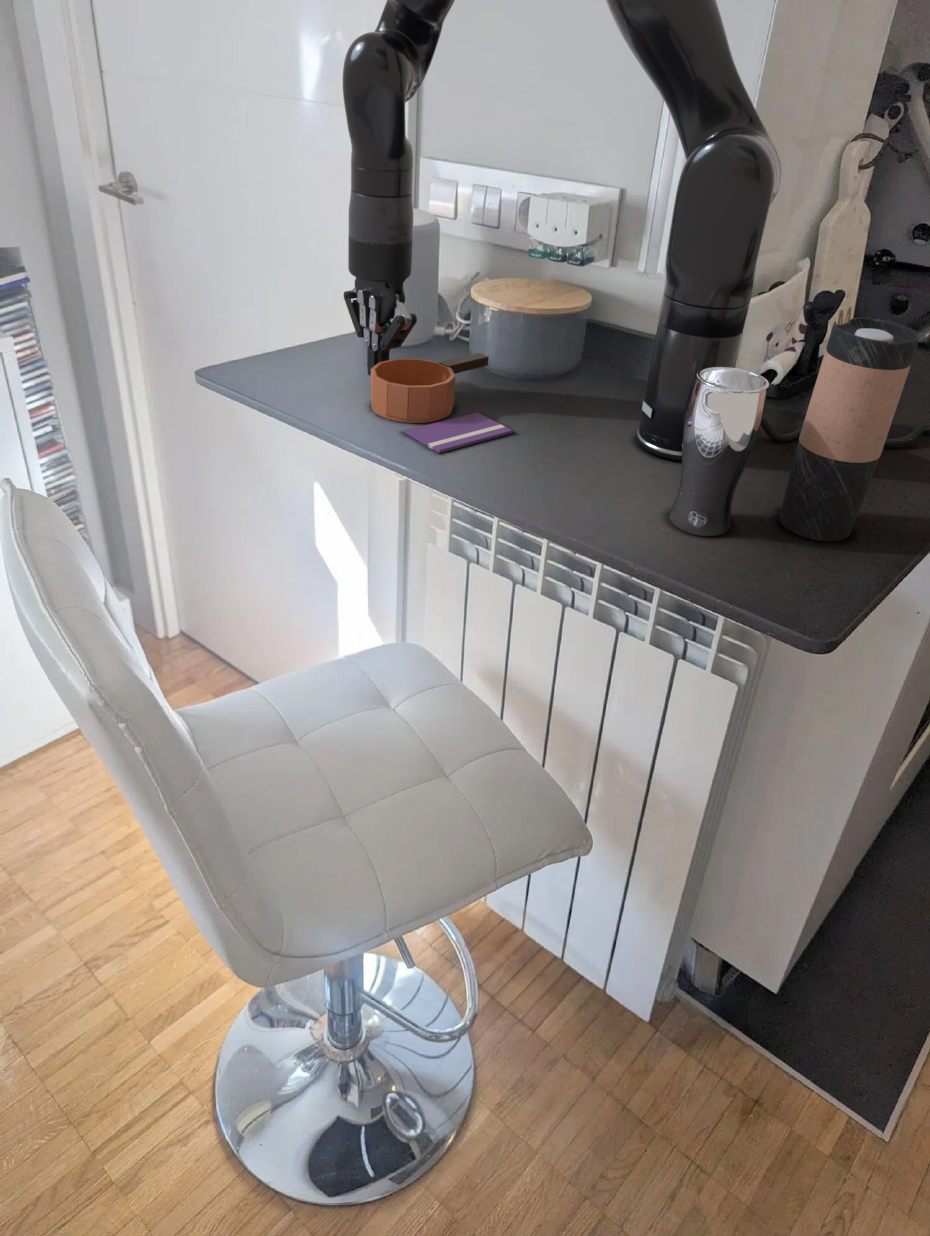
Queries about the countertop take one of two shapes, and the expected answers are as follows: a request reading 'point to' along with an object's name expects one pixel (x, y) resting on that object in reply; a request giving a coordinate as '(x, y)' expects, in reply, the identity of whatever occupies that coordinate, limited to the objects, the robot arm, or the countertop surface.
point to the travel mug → (846, 426)
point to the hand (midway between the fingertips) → (377, 376)
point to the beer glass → (717, 446)
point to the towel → (458, 432)
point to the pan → (418, 387)
